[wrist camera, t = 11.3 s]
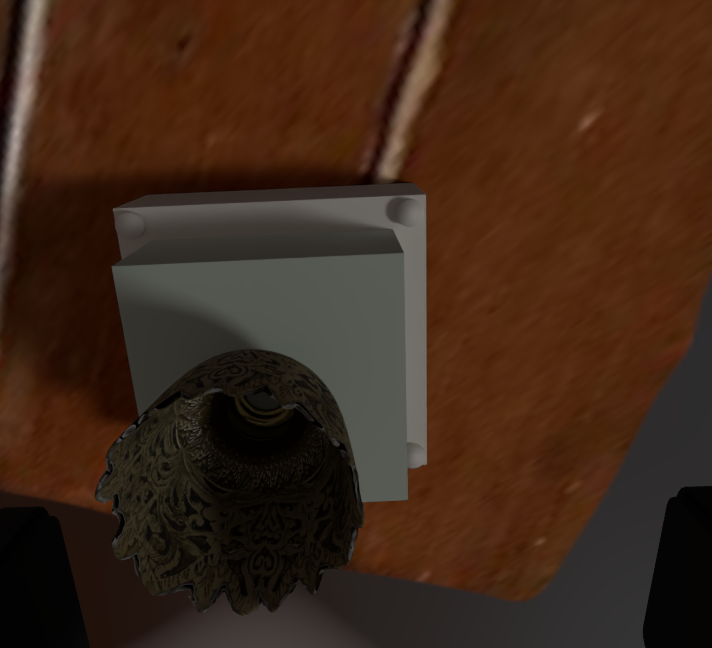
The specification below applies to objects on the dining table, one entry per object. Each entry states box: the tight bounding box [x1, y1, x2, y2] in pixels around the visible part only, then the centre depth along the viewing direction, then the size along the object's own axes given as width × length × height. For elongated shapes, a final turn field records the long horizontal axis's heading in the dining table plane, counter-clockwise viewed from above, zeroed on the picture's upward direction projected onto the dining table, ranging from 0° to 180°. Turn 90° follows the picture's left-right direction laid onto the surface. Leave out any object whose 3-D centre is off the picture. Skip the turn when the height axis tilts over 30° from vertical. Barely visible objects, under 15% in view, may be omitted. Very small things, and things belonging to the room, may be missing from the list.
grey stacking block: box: [111, 183, 427, 502], centre depth 29 cm, size 14×14×10 cm
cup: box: [95, 349, 364, 615], centre depth 20 cm, size 8×7×8 cm
